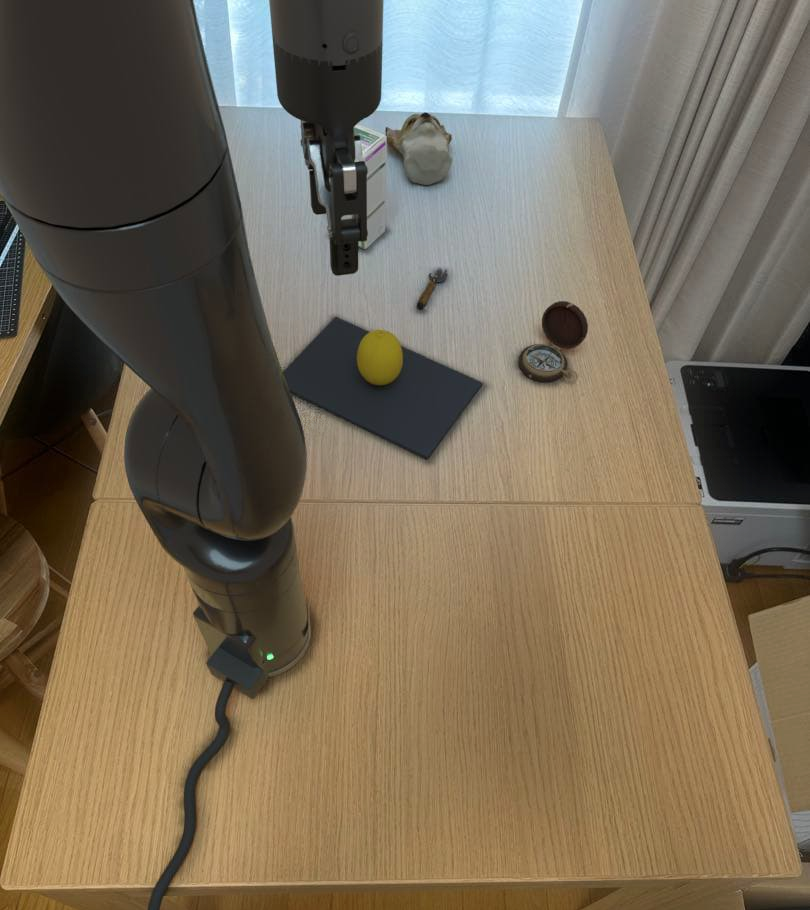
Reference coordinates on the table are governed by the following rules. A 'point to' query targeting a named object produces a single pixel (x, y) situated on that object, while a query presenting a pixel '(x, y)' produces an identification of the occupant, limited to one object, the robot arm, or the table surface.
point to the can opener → (431, 287)
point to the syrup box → (373, 182)
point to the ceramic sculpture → (422, 148)
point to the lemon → (379, 357)
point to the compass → (555, 342)
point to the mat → (381, 390)
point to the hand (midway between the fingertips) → (334, 241)
